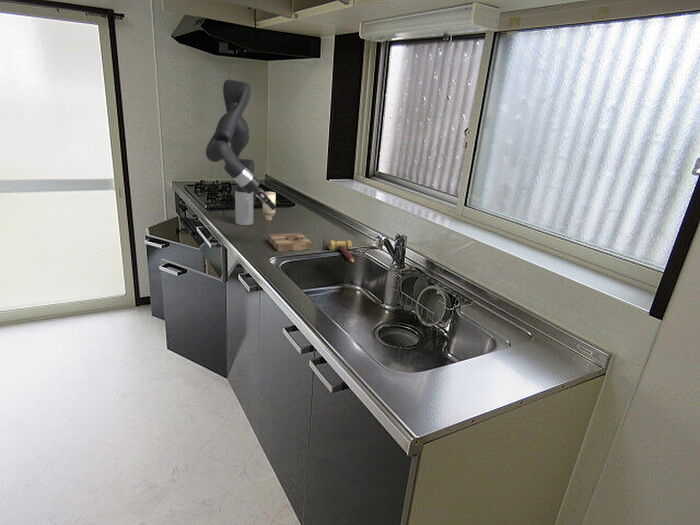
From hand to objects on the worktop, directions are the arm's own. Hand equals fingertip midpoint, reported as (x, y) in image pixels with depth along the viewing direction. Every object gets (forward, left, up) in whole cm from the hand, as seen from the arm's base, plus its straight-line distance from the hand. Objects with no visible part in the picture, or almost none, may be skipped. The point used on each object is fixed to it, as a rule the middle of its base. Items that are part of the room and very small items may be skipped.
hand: (272, 206), depth 199 cm
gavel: (+20, +28, -19) cm, 39 cm away
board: (+1, +8, -18) cm, 20 cm away
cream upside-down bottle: (0, -2, -6) cm, 6 cm away
